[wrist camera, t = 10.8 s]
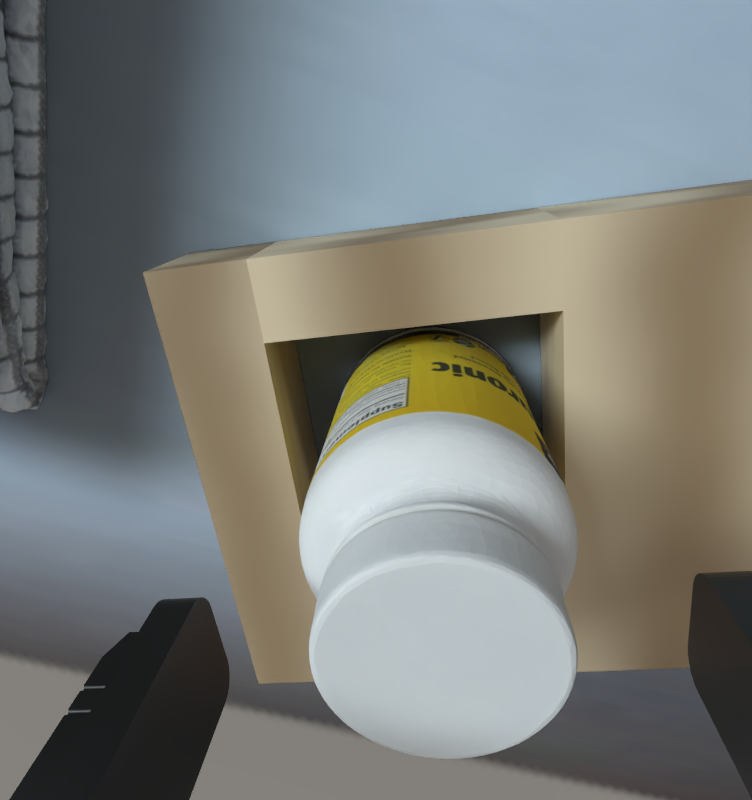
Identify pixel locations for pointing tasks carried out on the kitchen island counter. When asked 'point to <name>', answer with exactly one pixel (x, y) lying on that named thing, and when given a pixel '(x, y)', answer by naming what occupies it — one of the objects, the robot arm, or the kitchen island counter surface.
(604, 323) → the socket holder
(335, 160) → the kitchen island counter surface
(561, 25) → the kitchen island counter surface
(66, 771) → the robot arm
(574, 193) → the kitchen island counter surface
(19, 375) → the towel
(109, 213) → the kitchen island counter surface
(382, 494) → the supplement bottle
